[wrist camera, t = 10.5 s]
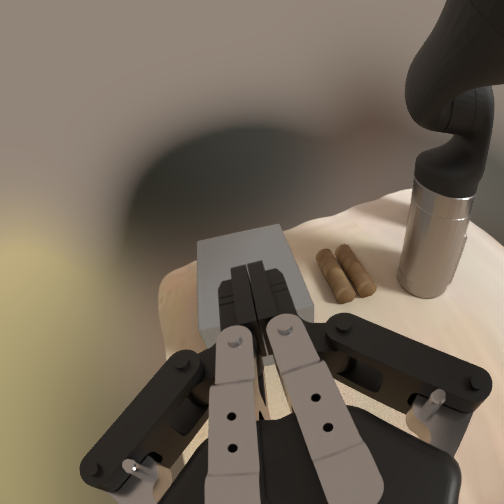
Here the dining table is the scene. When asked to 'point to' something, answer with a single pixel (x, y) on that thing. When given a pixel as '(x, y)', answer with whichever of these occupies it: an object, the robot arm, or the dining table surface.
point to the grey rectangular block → (243, 252)
